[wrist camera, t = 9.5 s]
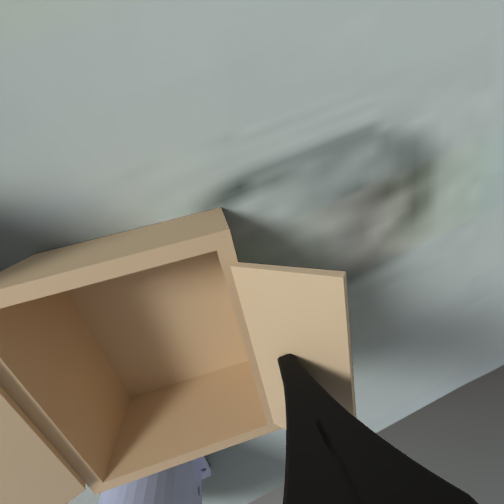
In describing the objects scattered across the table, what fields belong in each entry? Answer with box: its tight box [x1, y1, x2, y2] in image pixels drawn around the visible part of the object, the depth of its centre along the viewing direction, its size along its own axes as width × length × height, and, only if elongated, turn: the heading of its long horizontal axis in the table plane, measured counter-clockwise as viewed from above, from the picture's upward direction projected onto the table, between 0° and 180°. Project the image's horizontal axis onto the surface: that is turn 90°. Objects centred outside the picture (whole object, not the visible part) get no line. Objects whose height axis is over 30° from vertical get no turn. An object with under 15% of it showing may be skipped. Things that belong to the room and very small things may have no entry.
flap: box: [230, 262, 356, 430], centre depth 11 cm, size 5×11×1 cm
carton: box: [0, 207, 282, 494], centre depth 15 cm, size 14×12×6 cm
